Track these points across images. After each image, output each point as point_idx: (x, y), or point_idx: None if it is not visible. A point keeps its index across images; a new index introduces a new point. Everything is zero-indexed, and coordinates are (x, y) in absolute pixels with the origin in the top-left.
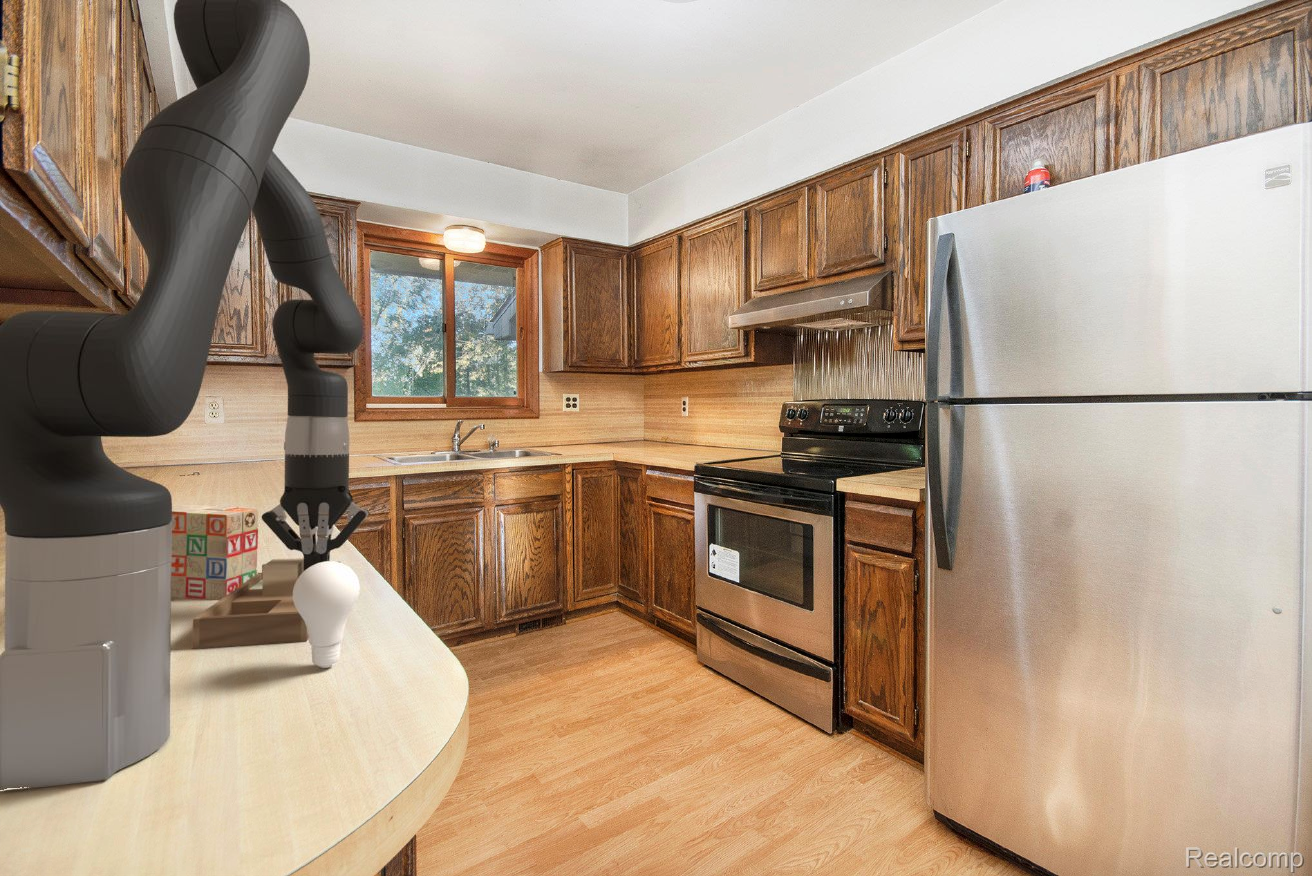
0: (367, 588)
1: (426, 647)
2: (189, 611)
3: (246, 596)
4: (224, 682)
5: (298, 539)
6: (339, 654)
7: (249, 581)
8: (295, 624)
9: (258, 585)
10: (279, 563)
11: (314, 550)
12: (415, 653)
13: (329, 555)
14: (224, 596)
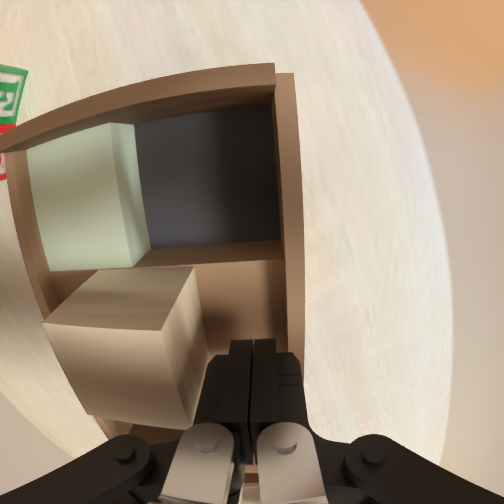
0: (352, 62)
1: (436, 444)
2: (3, 261)
3: None
4: (243, 497)
5: (153, 497)
6: None
7: (28, 257)
8: None
9: (45, 221)
10: (113, 400)
11: (244, 465)
12: (421, 456)
13: (306, 415)
14: (2, 179)
